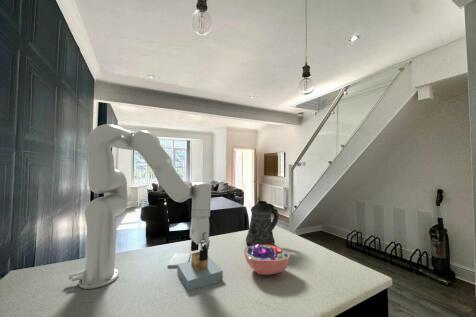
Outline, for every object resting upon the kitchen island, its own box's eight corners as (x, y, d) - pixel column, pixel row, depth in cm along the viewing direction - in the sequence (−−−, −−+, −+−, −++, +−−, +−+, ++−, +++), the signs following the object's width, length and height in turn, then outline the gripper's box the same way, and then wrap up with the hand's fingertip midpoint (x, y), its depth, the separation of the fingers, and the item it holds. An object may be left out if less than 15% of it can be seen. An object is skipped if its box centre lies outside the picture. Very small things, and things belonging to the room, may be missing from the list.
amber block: (195, 271, 75) (196, 258, 76) (191, 266, 80) (191, 253, 80) (207, 268, 78) (208, 255, 78) (202, 263, 82) (203, 251, 83)
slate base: (187, 292, 69) (187, 281, 69) (177, 273, 81) (177, 264, 81) (222, 281, 76) (222, 270, 77) (208, 265, 88) (208, 256, 88)
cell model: (291, 286, 73) (291, 256, 73) (239, 279, 77) (240, 250, 77) (289, 265, 89) (289, 240, 90) (246, 259, 93) (246, 236, 94)
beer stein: (240, 246, 110) (240, 201, 111) (257, 236, 125) (258, 197, 126) (265, 254, 100) (266, 205, 101) (281, 243, 115) (282, 200, 116)
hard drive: (186, 264, 85) (190, 252, 98) (167, 265, 85) (174, 252, 97) (186, 268, 85) (190, 255, 98) (167, 269, 85) (174, 256, 97)
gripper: (185, 209, 85) (183, 248, 84) (200, 218, 71) (197, 266, 70) (201, 207, 89) (199, 245, 88) (218, 216, 75) (216, 262, 74)
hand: (198, 255), depth 79 cm, fingers open, 9 cm apart
